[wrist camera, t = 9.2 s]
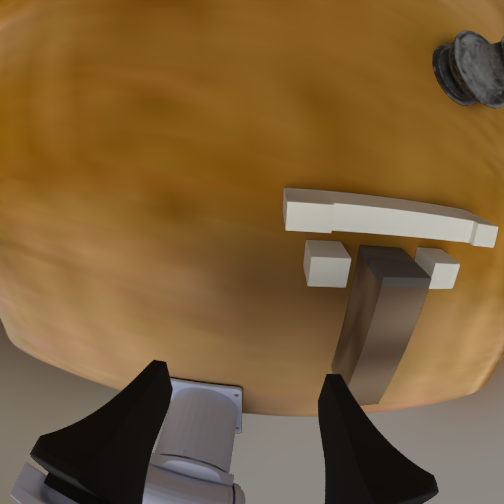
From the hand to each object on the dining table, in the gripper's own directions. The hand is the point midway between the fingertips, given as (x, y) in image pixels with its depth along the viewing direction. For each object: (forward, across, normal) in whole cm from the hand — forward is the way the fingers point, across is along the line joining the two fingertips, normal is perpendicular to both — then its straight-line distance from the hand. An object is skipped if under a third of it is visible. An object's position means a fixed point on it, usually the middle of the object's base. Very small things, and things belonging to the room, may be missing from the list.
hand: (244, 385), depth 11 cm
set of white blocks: (+10, -9, -4) cm, 14 cm away
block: (+10, -9, +3) cm, 14 cm away
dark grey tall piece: (+10, -15, -18) cm, 26 cm away
